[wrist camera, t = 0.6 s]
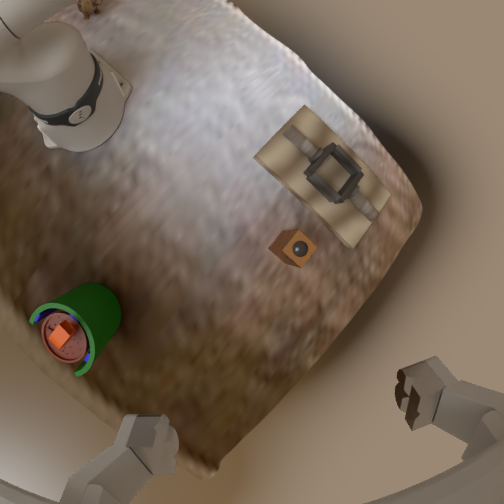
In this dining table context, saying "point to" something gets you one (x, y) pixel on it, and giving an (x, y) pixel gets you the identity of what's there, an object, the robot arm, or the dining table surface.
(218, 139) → the dining table surface
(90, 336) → the motor
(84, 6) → the lion figurine
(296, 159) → the base
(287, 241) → the block
